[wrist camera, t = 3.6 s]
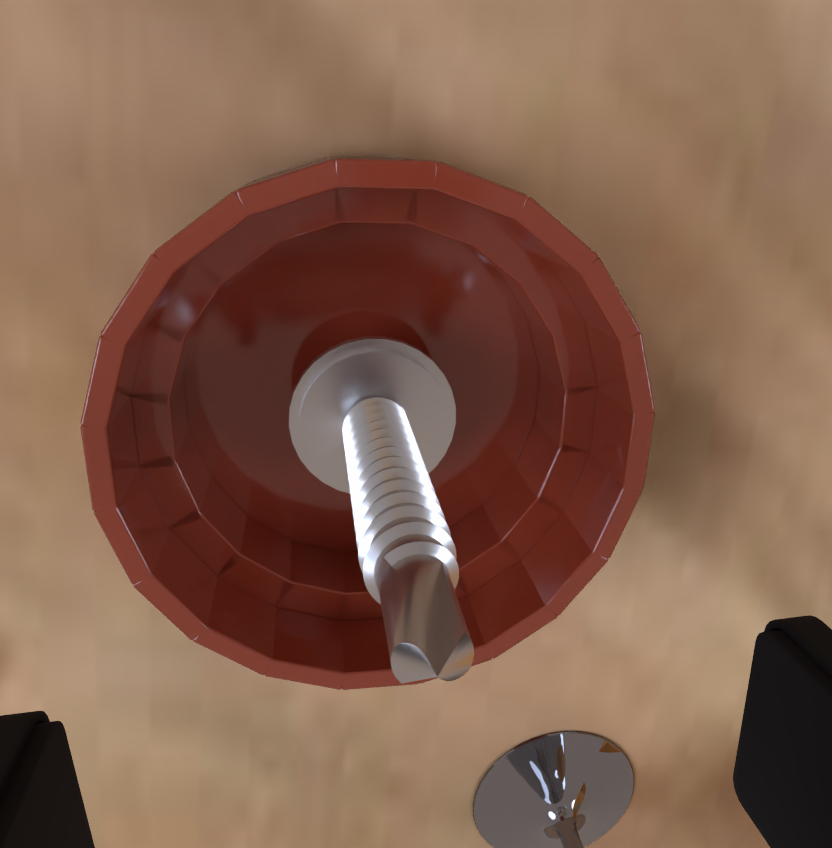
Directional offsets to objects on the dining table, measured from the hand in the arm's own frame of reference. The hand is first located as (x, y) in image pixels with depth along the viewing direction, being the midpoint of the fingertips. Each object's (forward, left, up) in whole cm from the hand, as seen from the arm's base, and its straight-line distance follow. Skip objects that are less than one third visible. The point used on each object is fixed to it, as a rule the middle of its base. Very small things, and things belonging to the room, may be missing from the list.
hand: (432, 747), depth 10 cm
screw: (0, 0, -14) cm, 14 cm away
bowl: (0, 0, -15) cm, 15 cm away
